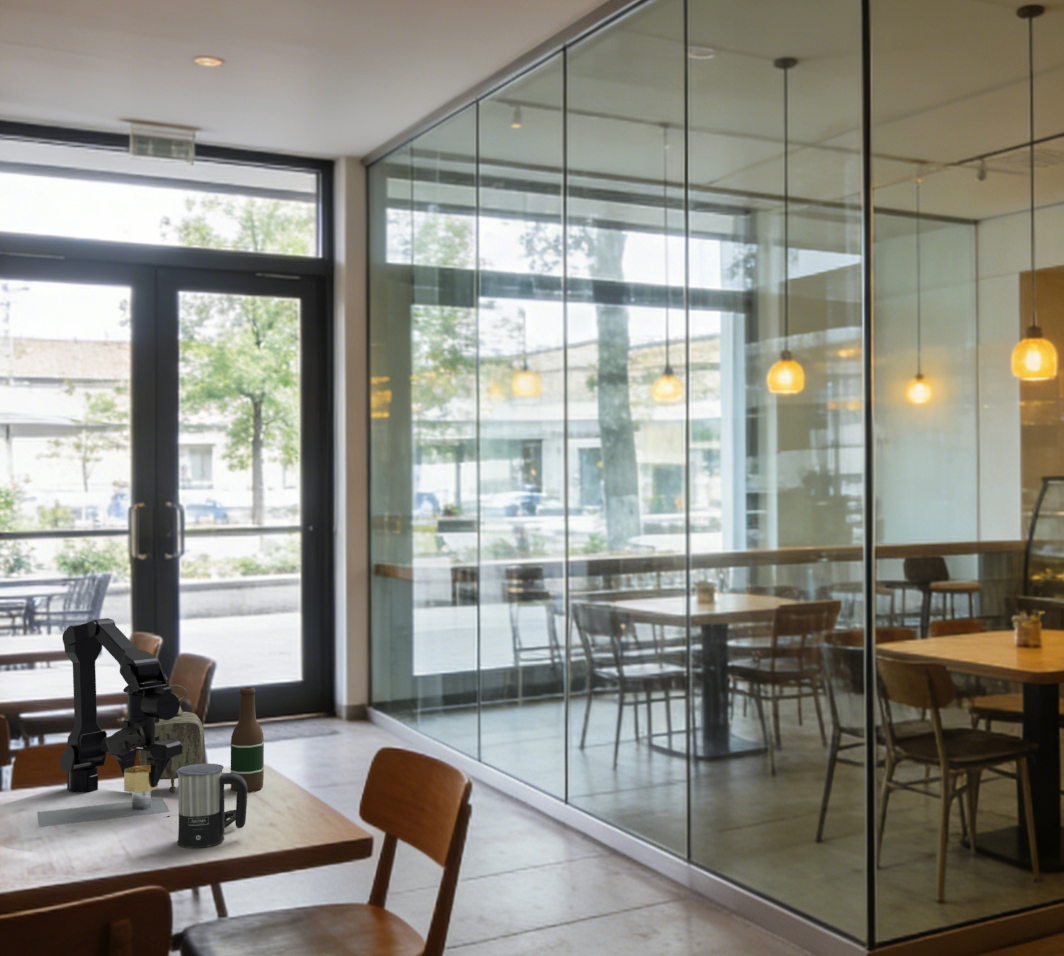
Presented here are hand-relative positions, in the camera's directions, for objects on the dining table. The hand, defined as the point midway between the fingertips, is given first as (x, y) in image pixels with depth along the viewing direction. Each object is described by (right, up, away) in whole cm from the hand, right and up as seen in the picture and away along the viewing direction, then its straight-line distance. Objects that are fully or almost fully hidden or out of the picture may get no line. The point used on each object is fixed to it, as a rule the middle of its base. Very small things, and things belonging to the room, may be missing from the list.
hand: (141, 785), depth 247 cm
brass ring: (0, -1, 0) cm, 1 cm away
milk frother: (+20, -6, -17) cm, 27 cm away
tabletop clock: (+1, -7, +18) cm, 19 cm away
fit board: (-7, -6, -3) cm, 10 cm away
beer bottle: (+18, -7, +20) cm, 28 cm away
